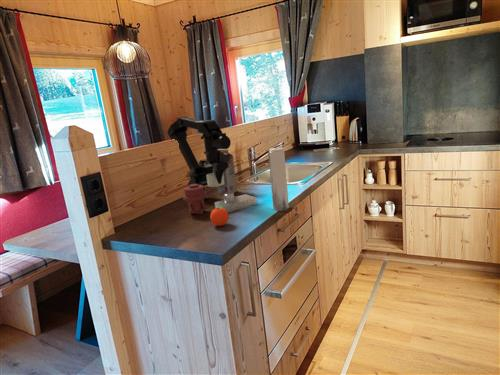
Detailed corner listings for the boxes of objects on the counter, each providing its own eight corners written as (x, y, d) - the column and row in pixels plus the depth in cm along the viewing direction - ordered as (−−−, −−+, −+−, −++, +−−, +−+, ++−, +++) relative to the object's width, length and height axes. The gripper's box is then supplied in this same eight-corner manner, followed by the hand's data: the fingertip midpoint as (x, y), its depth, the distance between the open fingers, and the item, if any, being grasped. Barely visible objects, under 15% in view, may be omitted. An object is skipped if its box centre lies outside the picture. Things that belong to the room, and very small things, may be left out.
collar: (205, 185, 167) (203, 174, 166) (219, 181, 171) (218, 171, 169) (212, 187, 160) (211, 176, 159) (227, 184, 164) (226, 173, 163)
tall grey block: (279, 205, 153) (274, 147, 147) (292, 207, 149) (287, 147, 143) (270, 209, 148) (264, 149, 142) (283, 211, 144) (277, 149, 138)
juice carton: (228, 194, 179) (223, 150, 174) (218, 193, 183) (213, 150, 178) (237, 191, 184) (232, 148, 179) (227, 190, 188) (222, 148, 183)
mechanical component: (210, 213, 152) (187, 217, 149) (207, 207, 161) (184, 211, 159) (206, 185, 149) (182, 189, 146) (203, 180, 158) (180, 184, 156)
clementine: (222, 220, 142) (220, 203, 140) (235, 222, 137) (233, 205, 136) (207, 227, 136) (205, 209, 134) (220, 229, 131) (218, 211, 130)
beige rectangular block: (215, 209, 158) (213, 194, 156) (246, 200, 166) (244, 186, 164) (225, 213, 150) (223, 198, 149) (256, 204, 158) (255, 189, 157)
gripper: (237, 146, 158) (241, 181, 162) (217, 144, 173) (221, 176, 177) (214, 151, 152) (219, 186, 156) (196, 148, 168) (201, 181, 171)
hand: (215, 182), depth 165 cm, fingers closed on collar, 8 cm apart
